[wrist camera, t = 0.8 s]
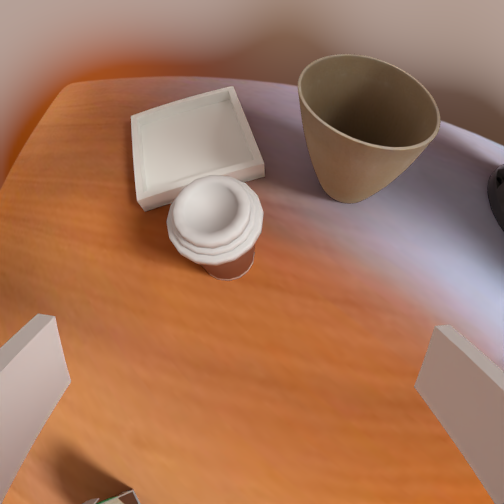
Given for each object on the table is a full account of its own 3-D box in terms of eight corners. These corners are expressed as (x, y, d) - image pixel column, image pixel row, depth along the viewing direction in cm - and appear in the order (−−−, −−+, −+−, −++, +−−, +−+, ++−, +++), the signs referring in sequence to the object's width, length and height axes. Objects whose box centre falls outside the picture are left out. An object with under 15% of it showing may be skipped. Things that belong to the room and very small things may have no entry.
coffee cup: (176, 259, 39) (141, 215, 28) (225, 208, 41) (209, 150, 30) (230, 307, 36) (211, 278, 25) (281, 250, 38) (284, 200, 27)
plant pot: (415, 197, 40) (464, 122, 25) (335, 249, 38) (370, 175, 23) (350, 126, 45) (370, 43, 30) (270, 164, 43) (268, 73, 28)
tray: (234, 99, 49) (232, 85, 46) (264, 176, 42) (264, 163, 40) (136, 127, 48) (130, 115, 45) (144, 211, 42) (136, 200, 39)
